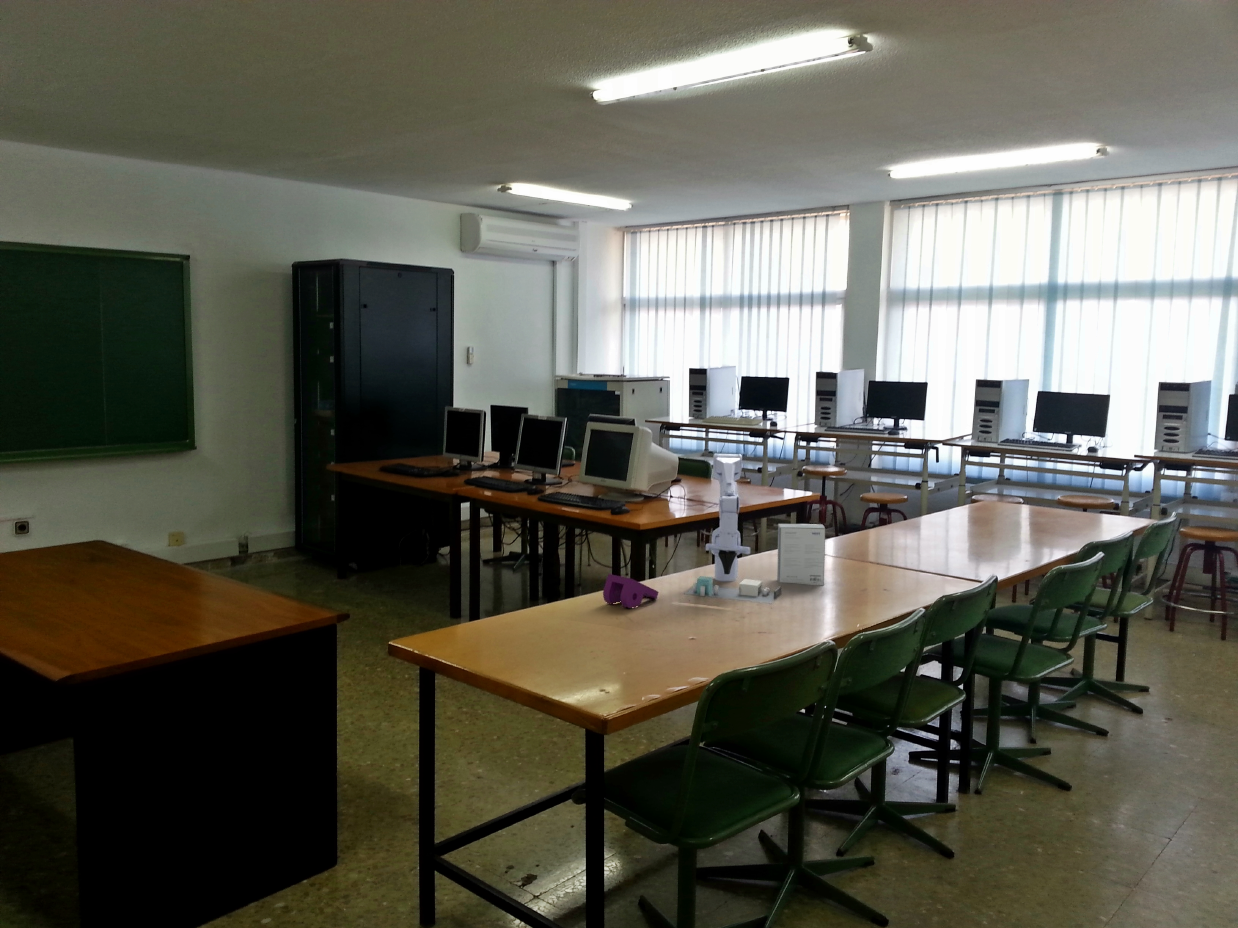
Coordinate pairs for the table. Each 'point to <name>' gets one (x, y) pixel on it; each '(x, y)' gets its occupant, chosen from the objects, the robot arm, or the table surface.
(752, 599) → the base plate
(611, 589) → the mounting bracket
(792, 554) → the hard drive box
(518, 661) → the table surface
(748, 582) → the block
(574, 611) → the table surface
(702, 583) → the teal block
